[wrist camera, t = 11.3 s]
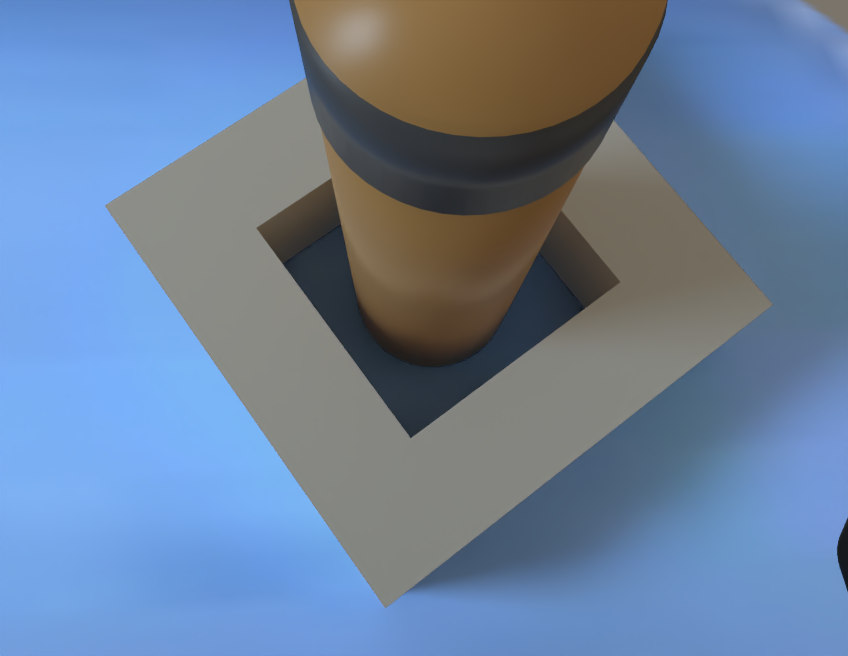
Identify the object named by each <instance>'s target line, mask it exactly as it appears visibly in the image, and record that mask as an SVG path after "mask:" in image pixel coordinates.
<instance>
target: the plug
mask: <svg viewBox="0 0 848 656" xmlns="http://www.w3.org/2000/svg"><path fill="white" fill-rule="evenodd" d="M289 1H290V7H291V11H292V16H293V20H294V25H295V29H296V34H297V38H298V43H299V47H300V52H301V57H302V61H303V66H304V70H305V75H306V79H307V84H308V88H309V93H310V97H311V102H312V105H313V108H314V111H315V115H316V118H317V120H318V123H319V125H320V127H321V131H322V136H323V140H324V145H325V150H326V155H327V159H328V164H329V169H330V174H331V178H332V183H333V188H334V193H335V197H336V202H337V207H338V212H339V216H340V221H341V226H342V231H343V236H344V240H345V245H346V250H347V255H348V259H349V264H350V269H351V274H352V278H353V283H354V288H355V293H356V297H357V302H358V307H359V311H360V315H361V318H362V321H363V323H364V325H365V327H366V329H367V330H368V332H369V334H370V335H371V337H372V338H373V339H374V340H375V341H376V342H377V344H378V345H379V346H381V347H382V348H383V349H384V350H385V351H386V352H388V353H389V354H391V355H392V356H394V357H396V358H398V359H400V360H402V361H404V362H407V363H410V364H414V365H418V366H426V367H441V366H447V365H452V364H455V363H458V362H461V361H463V360H465V359H468V358H470V357H471V356H473V355H474V354H476V353H477V352H479V351H480V350H481V349H482V348H483V347H485V346H486V344H487V343H488V342H489V341H490V340H491V339H492V337H493V336H494V335H495V333H496V332H497V330H498V328H499V326H500V324H501V322H502V320H503V319H504V317H505V315H506V313H507V311H508V309H509V307H510V305H511V304H512V302H513V300H514V298H515V296H516V294H517V292H518V290H519V289H520V287H521V285H522V283H523V281H524V279H525V277H526V275H527V273H528V272H529V270H530V268H531V266H532V264H533V262H534V260H535V258H536V257H537V255H538V253H539V251H540V249H541V247H542V245H543V243H544V241H545V240H546V238H547V236H548V234H549V232H550V230H551V228H552V226H553V225H554V223H555V221H556V219H557V217H558V215H559V213H560V211H561V210H562V208H563V206H564V204H565V202H566V200H567V198H568V196H569V194H570V193H571V191H572V189H573V187H574V185H575V183H576V181H577V179H578V178H579V176H580V174H581V172H582V170H583V168H584V166H585V165H586V163H587V162H588V161H589V160H590V159H591V157H592V156H593V154H594V153H595V152H596V150H597V149H598V147H599V146H600V144H601V143H602V141H603V139H604V137H605V135H606V133H607V132H608V130H609V128H610V126H611V124H612V122H613V120H614V119H615V117H616V115H617V113H618V111H619V109H620V108H621V106H622V104H623V102H624V100H625V98H626V97H627V95H628V93H629V91H630V89H631V87H632V86H633V84H634V82H635V80H636V78H637V76H638V75H639V73H640V71H641V69H642V67H643V65H644V63H645V62H646V60H647V58H648V56H649V54H650V52H651V50H652V48H653V46H654V44H655V42H656V40H657V38H658V36H659V33H660V30H661V27H662V24H663V20H664V17H665V13H666V7H667V1H668V0H289Z"/></svg>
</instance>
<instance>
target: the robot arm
mask: <svg viewBox="0 0 848 656" xmlns="http://www.w3.org/2000/svg"><path fill="white" fill-rule="evenodd" d="M837 556H838V562H839V566H840V569H841V572H842V576H843V579H844V582H845V585H846V588H847V591H848V518H847V521H846V523H845V525H844V528H843V530H842V532H841V535H840V537H839V540H838V546H837Z"/></svg>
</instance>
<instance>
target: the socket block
mask: <svg viewBox="0 0 848 656" xmlns="http://www.w3.org/2000/svg"><path fill="white" fill-rule="evenodd" d="M105 206H106V208H107V209H108V211H109V212H110V214H111V215H112V217H113V218H114V219H115V221H116V222H117V224H118V225H119V227H120V228H121V229H122V231H123V232H124V234H125V235H126V237H127V238H128V239H129V241H130V242H131V244H132V245H133V247H134V248H135V250H136V251H137V252H138V254H139V255H140V257H141V258H142V260H143V261H144V262H145V264H146V265H147V267H148V268H149V270H150V271H151V273H152V274H153V275H154V277H155V278H156V280H157V281H158V283H159V284H160V285H161V287H162V288H163V290H164V291H165V293H166V294H167V295H168V297H169V298H170V300H171V301H172V303H173V304H174V306H175V307H176V308H177V310H178V311H179V313H180V314H181V316H182V317H183V318H184V320H185V321H186V323H187V324H188V326H189V327H190V328H191V330H192V331H193V333H194V334H195V336H196V337H197V339H198V340H199V341H200V343H201V344H202V346H203V347H204V349H205V350H206V351H207V353H208V354H209V356H210V357H211V359H212V360H213V361H214V363H215V364H216V366H217V367H218V369H219V370H220V372H221V373H222V374H223V376H224V377H225V379H226V380H227V382H228V383H229V384H230V386H231V387H232V389H233V390H234V392H235V393H236V395H237V396H238V397H239V399H240V400H241V402H242V403H243V405H244V406H245V407H246V409H247V410H248V412H249V413H250V415H251V416H252V417H253V419H254V420H255V422H256V423H257V425H258V426H259V428H260V429H261V430H262V432H263V433H264V435H265V436H266V438H267V439H268V440H269V442H270V443H271V445H272V446H273V448H274V449H275V450H276V452H277V453H278V455H279V456H280V458H281V459H282V461H283V462H284V463H285V465H286V466H287V468H288V469H289V471H290V472H291V473H292V475H293V476H294V478H295V479H296V481H297V482H298V484H299V485H300V486H301V488H302V489H303V491H304V492H305V494H306V495H307V496H308V498H309V499H310V501H311V502H312V504H313V505H314V506H315V508H316V509H317V511H318V512H319V514H320V515H321V517H322V518H323V519H324V521H325V522H326V524H327V525H328V527H329V528H330V529H331V531H332V532H333V534H334V535H335V537H336V538H337V539H338V541H339V542H340V544H341V545H342V547H343V548H344V550H345V551H346V552H347V554H348V555H349V557H350V558H351V560H352V561H353V562H354V564H355V565H356V567H357V568H358V570H359V571H360V572H361V574H362V575H363V577H364V578H365V580H366V581H367V583H368V584H369V585H370V587H371V588H372V590H373V591H374V593H375V594H376V595H377V597H378V598H379V600H380V601H381V603H382V604H383V606H384V607H385V608H386V607H388V606H389V605H390V604H391V603H393V602H394V601H395V600H397V599H398V598H399V597H400V596H402V595H403V594H404V593H406V592H407V591H408V590H409V589H411V588H412V587H413V586H414V585H416V584H417V583H418V582H420V581H421V580H422V579H423V578H425V577H426V576H427V575H428V574H430V573H431V572H432V571H434V570H435V569H436V568H437V567H439V566H440V565H441V564H443V563H444V562H445V561H446V560H448V559H449V558H450V557H451V556H453V555H454V554H455V553H457V552H458V551H459V550H460V549H462V548H463V547H464V546H466V545H467V544H468V543H469V542H471V541H472V540H473V539H474V538H476V537H477V536H478V535H480V534H481V533H482V532H483V531H485V530H486V529H487V528H488V527H490V526H491V525H492V524H494V523H495V522H496V521H497V520H499V519H500V518H501V517H503V516H504V515H505V514H506V513H508V512H509V511H510V510H511V509H513V508H514V507H515V506H517V505H518V504H519V503H520V502H522V501H523V500H524V499H526V498H527V497H528V496H529V495H531V494H532V493H533V492H534V491H536V490H537V489H538V488H540V487H541V486H542V485H543V484H545V483H546V482H547V481H548V480H550V479H551V478H552V477H554V476H555V475H556V474H557V473H559V472H560V471H561V470H563V469H564V468H565V467H566V466H568V465H569V464H570V463H571V462H573V461H574V460H575V459H577V458H578V457H579V456H580V455H582V454H583V453H584V452H586V451H587V450H588V449H589V448H591V447H592V446H593V445H594V444H596V443H597V442H598V441H600V440H601V439H602V438H603V437H605V436H606V435H607V434H608V433H610V432H611V431H612V430H614V429H615V428H616V427H617V426H619V425H620V424H621V423H623V422H624V421H625V420H626V419H628V418H629V417H630V416H631V415H633V414H634V413H635V412H637V411H638V410H639V409H640V408H642V407H643V406H644V405H645V404H647V403H648V402H649V401H651V400H652V399H653V398H654V397H656V396H657V395H658V394H660V393H661V392H662V391H663V390H665V389H666V388H667V387H668V386H670V385H671V384H672V383H674V382H675V381H676V380H677V379H679V378H680V377H681V376H683V375H684V374H685V373H686V372H688V371H689V370H690V369H691V368H693V367H694V366H695V365H697V364H698V363H699V362H700V361H702V360H703V359H704V358H705V357H707V356H708V355H709V354H711V353H712V352H713V351H714V350H716V349H717V348H718V347H720V346H721V345H722V344H723V343H725V342H726V341H727V340H728V339H730V338H731V337H732V336H734V335H735V334H736V333H737V332H739V331H740V330H741V329H743V328H744V327H745V326H746V325H748V324H749V323H750V322H751V321H753V320H754V319H755V318H757V317H758V316H759V315H760V314H762V313H763V312H764V311H765V310H767V309H768V308H769V307H771V306H772V305H773V304H772V303H771V302H770V301H769V299H768V298H767V297H766V296H765V295H764V294H763V292H762V291H761V290H760V289H759V288H758V287H757V286H756V284H755V283H754V282H753V281H752V280H751V279H750V277H749V276H748V275H747V274H746V273H745V272H744V270H743V269H742V268H741V267H740V266H739V265H738V264H737V262H736V261H735V260H734V259H733V258H732V257H731V255H730V254H729V253H728V252H727V251H726V250H725V248H724V247H723V246H722V245H721V244H720V243H719V242H718V240H717V239H716V238H715V237H714V236H713V235H712V233H711V232H710V231H709V230H708V229H707V228H706V226H705V225H704V224H703V223H702V222H701V221H700V220H699V218H698V217H697V216H696V215H695V214H694V213H693V211H692V210H691V209H690V208H689V207H688V206H687V205H686V203H685V202H684V201H683V200H682V199H681V198H680V196H679V195H678V194H677V193H676V192H675V191H674V189H673V188H672V187H671V186H670V185H669V184H668V183H667V181H666V180H665V179H664V178H663V177H662V176H661V174H660V173H659V172H658V171H657V170H656V169H655V167H654V166H653V165H652V164H651V163H650V162H649V161H648V159H647V158H646V157H645V156H644V155H643V154H642V152H641V151H640V150H639V149H638V148H637V147H636V145H635V144H634V143H633V142H632V141H631V140H630V139H629V137H628V136H627V135H626V134H625V133H624V132H623V130H622V129H621V128H620V127H619V126H618V125H617V123H616V122H615V121H614V120H613V122H612V124H611V126H610V128H609V130H608V132H607V133H606V135H605V137H604V139H603V141H602V143H601V144H600V146H599V147H598V149H597V150H596V152H595V153H594V154H593V156H592V157H591V159H590V160H589V161H588V162H587V163H586V165H585V166H584V168H583V170H582V172H581V174H580V176H579V178H578V179H577V181H576V183H575V185H574V187H573V189H572V191H571V193H570V194H569V196H568V198H567V200H566V202H565V204H564V206H563V208H562V210H561V211H560V213H559V215H558V217H557V219H556V221H555V223H554V225H553V226H552V228H551V230H550V232H549V234H548V236H547V238H546V240H545V241H544V243H543V245H542V247H541V249H540V251H539V252H540V254H541V255H542V256H543V257H544V259H545V260H546V261H547V262H548V264H549V265H550V266H551V267H552V269H553V270H554V271H555V272H556V273H557V275H558V276H559V277H560V278H561V280H562V281H563V282H564V283H565V285H566V286H567V287H568V288H569V289H570V291H571V292H572V293H573V294H574V296H575V297H576V298H577V299H578V301H579V302H580V303H581V304H582V306H583V307H584V308H585V309H584V310H582V311H581V312H580V313H578V314H577V315H576V316H574V317H573V318H572V319H570V320H569V321H568V322H566V323H565V324H564V325H562V326H561V327H560V328H558V329H557V330H555V331H554V332H553V333H551V334H550V335H549V336H547V337H546V338H545V339H543V340H542V341H541V342H539V343H538V344H537V345H535V346H534V347H533V348H531V349H530V350H529V351H527V352H526V353H525V354H523V355H522V356H521V357H519V358H518V359H517V360H515V361H514V362H513V363H511V364H510V365H508V366H507V367H506V368H504V369H503V370H502V371H500V372H499V373H498V374H496V375H495V376H494V377H492V378H491V379H490V380H488V381H487V382H486V383H484V384H483V385H482V386H480V387H479V388H478V389H476V390H475V391H474V392H472V393H471V394H470V395H468V396H467V397H466V398H464V399H463V400H461V401H460V402H459V403H457V404H456V405H455V406H453V407H452V408H451V409H449V410H448V411H447V412H445V413H444V414H443V415H441V416H440V417H439V418H437V419H436V420H435V421H433V422H432V423H431V424H429V425H428V426H427V427H425V428H424V429H423V430H421V431H420V432H419V433H417V434H416V435H414V436H413V437H412V438H410V437H409V435H408V434H407V432H406V431H405V430H404V428H403V427H402V426H401V424H400V423H399V422H398V420H397V419H396V418H395V416H394V415H393V413H392V412H391V411H390V409H389V408H388V407H387V405H386V404H385V403H384V401H383V400H382V398H381V397H380V396H379V394H378V393H377V392H376V390H375V389H374V388H373V386H372V385H371V384H370V382H369V381H368V379H367V378H366V377H365V375H364V374H363V373H362V371H361V370H360V369H359V367H358V366H357V364H356V363H355V362H354V360H353V359H352V358H351V356H350V355H349V354H348V352H347V351H346V350H345V348H344V347H343V345H342V344H341V343H340V341H339V340H338V339H337V337H336V336H335V335H334V333H333V332H332V330H331V329H330V328H329V326H328V325H327V324H326V322H325V321H324V320H323V318H322V317H321V316H320V314H319V313H318V311H317V310H316V309H315V307H314V306H313V305H312V303H311V302H310V301H309V299H308V298H307V296H306V295H305V294H304V292H303V291H302V290H301V288H300V287H299V286H298V284H297V283H296V282H295V280H294V279H293V277H292V276H291V275H290V273H289V272H288V271H287V269H286V268H285V267H284V265H283V263H284V262H286V261H287V260H289V259H290V258H292V257H293V256H295V255H296V254H298V253H299V252H301V251H302V250H304V249H305V248H306V247H308V246H309V245H311V244H312V243H314V242H315V241H317V240H318V239H320V238H321V237H323V236H324V235H326V234H327V233H329V232H330V231H332V230H333V229H335V228H336V227H337V226H339V225H340V224H341V221H340V216H339V212H338V207H337V202H336V197H335V193H334V188H333V183H332V178H331V174H330V169H329V164H328V159H327V155H326V150H325V145H324V140H323V136H322V131H321V127H320V125H319V123H318V120H317V118H316V115H315V111H314V108H313V105H312V102H311V97H310V93H309V88H308V84H307V79H306V78H305V79H303V80H302V81H300V82H299V83H297V84H296V85H294V86H292V87H291V88H289V89H288V90H286V91H285V92H283V93H281V94H280V95H278V96H277V97H275V98H273V99H272V100H270V101H269V102H267V103H266V104H264V105H262V106H261V107H259V108H258V109H256V110H255V111H253V112H251V113H250V114H248V115H247V116H245V117H244V118H242V119H240V120H239V121H237V122H236V123H234V124H233V125H231V126H229V127H228V128H226V129H225V130H223V131H222V132H220V133H218V134H217V135H215V136H214V137H212V138H210V139H209V140H207V141H206V142H204V143H203V144H201V145H199V146H198V147H196V148H195V149H193V150H192V151H190V152H188V153H187V154H185V155H184V156H182V157H181V158H179V159H177V160H176V161H174V162H173V163H171V164H170V165H168V166H166V167H165V168H163V169H162V170H160V171H158V172H157V173H155V174H154V175H152V176H151V177H149V178H147V179H146V180H144V181H143V182H141V183H140V184H138V185H136V186H135V187H133V188H132V189H130V190H129V191H127V192H125V193H124V194H122V195H121V196H119V197H118V198H116V199H114V200H113V201H111V202H110V203H108V204H106V205H105Z"/></svg>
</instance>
